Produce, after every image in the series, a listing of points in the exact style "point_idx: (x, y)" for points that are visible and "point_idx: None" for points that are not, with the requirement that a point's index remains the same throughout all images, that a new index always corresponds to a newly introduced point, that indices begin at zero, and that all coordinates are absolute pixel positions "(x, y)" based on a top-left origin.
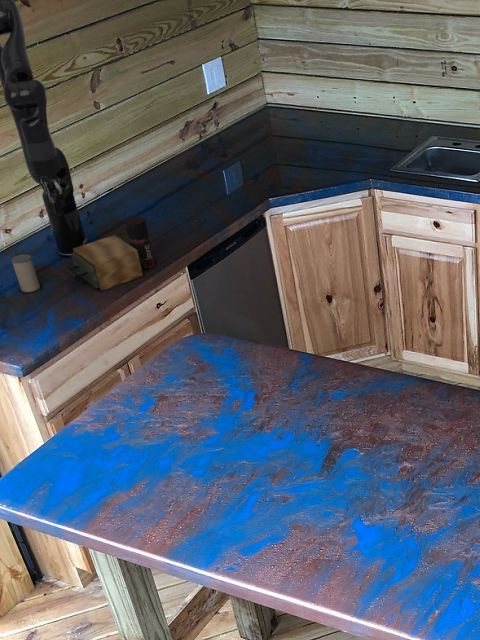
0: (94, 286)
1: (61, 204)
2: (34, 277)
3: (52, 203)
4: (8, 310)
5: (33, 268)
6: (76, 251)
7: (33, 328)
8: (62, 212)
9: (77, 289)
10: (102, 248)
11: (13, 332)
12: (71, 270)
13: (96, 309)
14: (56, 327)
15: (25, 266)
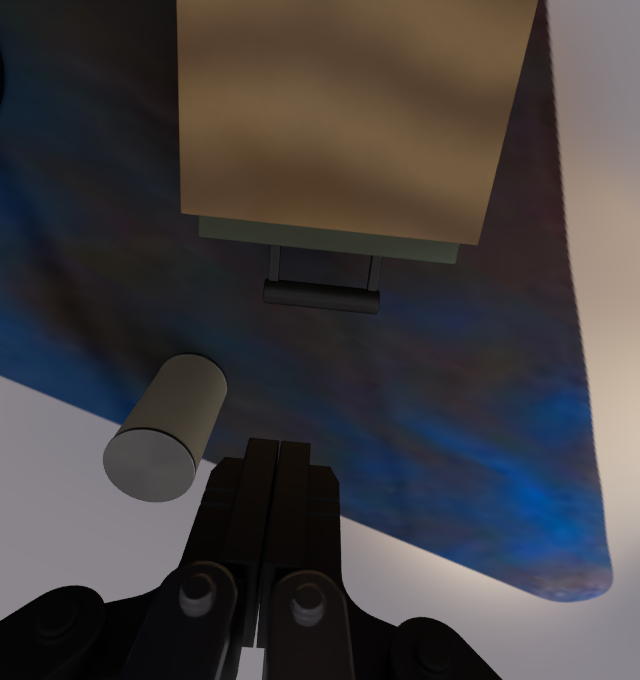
0: None
1: (304, 528)
2: (211, 399)
3: (251, 636)
4: None
5: (192, 410)
6: (232, 218)
7: (464, 500)
8: (329, 475)
9: (340, 275)
10: (325, 75)
11: (432, 539)
12: (311, 291)
13: (551, 316)
14: (524, 459)
15: (200, 458)
